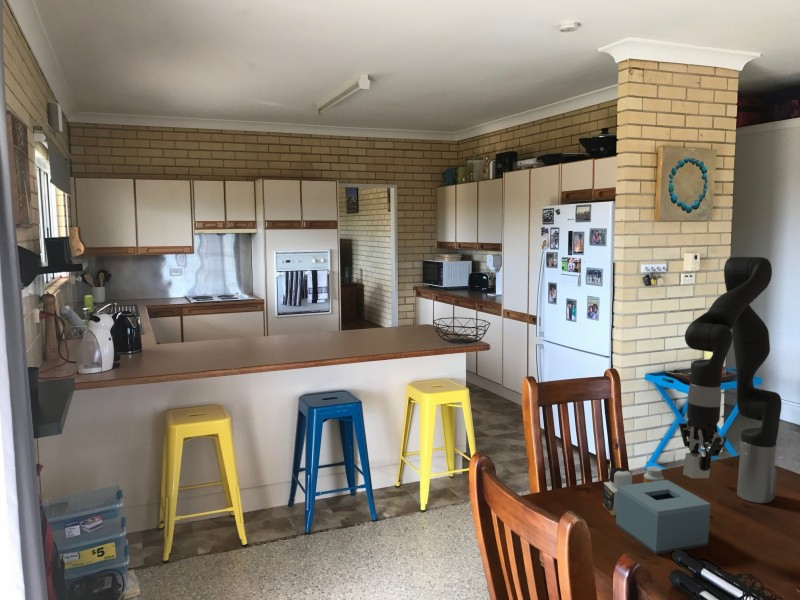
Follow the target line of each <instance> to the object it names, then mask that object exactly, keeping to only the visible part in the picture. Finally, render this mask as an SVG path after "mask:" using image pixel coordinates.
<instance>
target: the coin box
mask: <svg viewBox="0 0 800 600" xmlns="http://www.w3.org/2000/svg"><path fill="white" fill-rule="evenodd" d="M711 505H712V504H711V503H710V502H709V501H706V500H704V499H703V498H701V497H699V496H697V495H695V494H694V493H693V492H691V491H688V490H686V489H684V488H682V487H681V486H679V485H677V484H676V483H674V482H672V481H670V480H668V479H664V480H661V481H654V482H646V483H643V482H640V483H632V484H631V485H623V486H618V490H617V511H616V516H615V526H616V527H617V528H618V529H620V530H621V531H623V532H624V533H625V534H626V535H628V536H629V537H631V538H632V539H633V540H635V541H636V542H637V543H639V544H640V545H642V546H643V547H644V548H646V549H647V550H648V551H650V552H651V553H653V554H654V555H661V554H667V553H671V552H672V551H673V550H674V549H683V550H684V551H685V550H690V549H697V548H702V547H707V546H708V545H709V535H710V533H709V532H710V519H711V518H710V517H711ZM683 550H682V551H683ZM672 553H673V552H672Z"/></svg>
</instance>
